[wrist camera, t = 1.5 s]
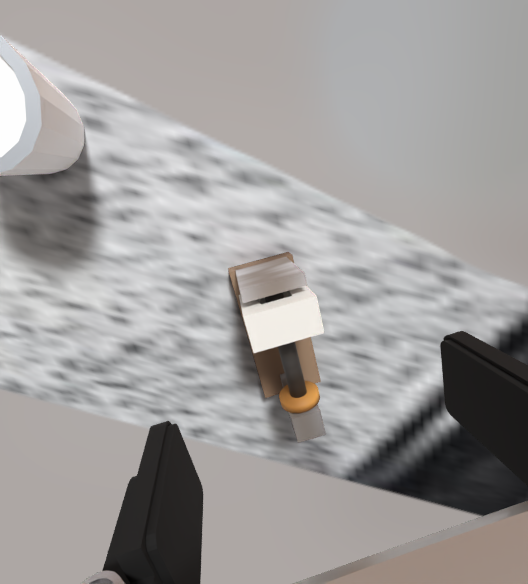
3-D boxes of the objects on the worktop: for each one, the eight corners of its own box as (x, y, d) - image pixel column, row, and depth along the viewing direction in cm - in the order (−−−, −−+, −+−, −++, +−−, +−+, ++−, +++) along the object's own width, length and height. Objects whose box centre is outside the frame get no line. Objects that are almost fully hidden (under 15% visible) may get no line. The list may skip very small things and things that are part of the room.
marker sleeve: (298, 278, 23) (316, 296, 19) (305, 309, 24) (324, 332, 19) (238, 295, 23) (243, 316, 18) (247, 325, 23) (253, 353, 19)
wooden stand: (288, 251, 26) (314, 271, 19) (315, 372, 30) (346, 428, 22) (228, 268, 26) (231, 294, 19) (263, 388, 29) (277, 449, 22)
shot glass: (-33, 72, 20) (-157, 10, 14) (81, 68, 21) (16, 7, 14) (0, 186, 22) (-93, 181, 16) (104, 179, 23) (57, 171, 16)
